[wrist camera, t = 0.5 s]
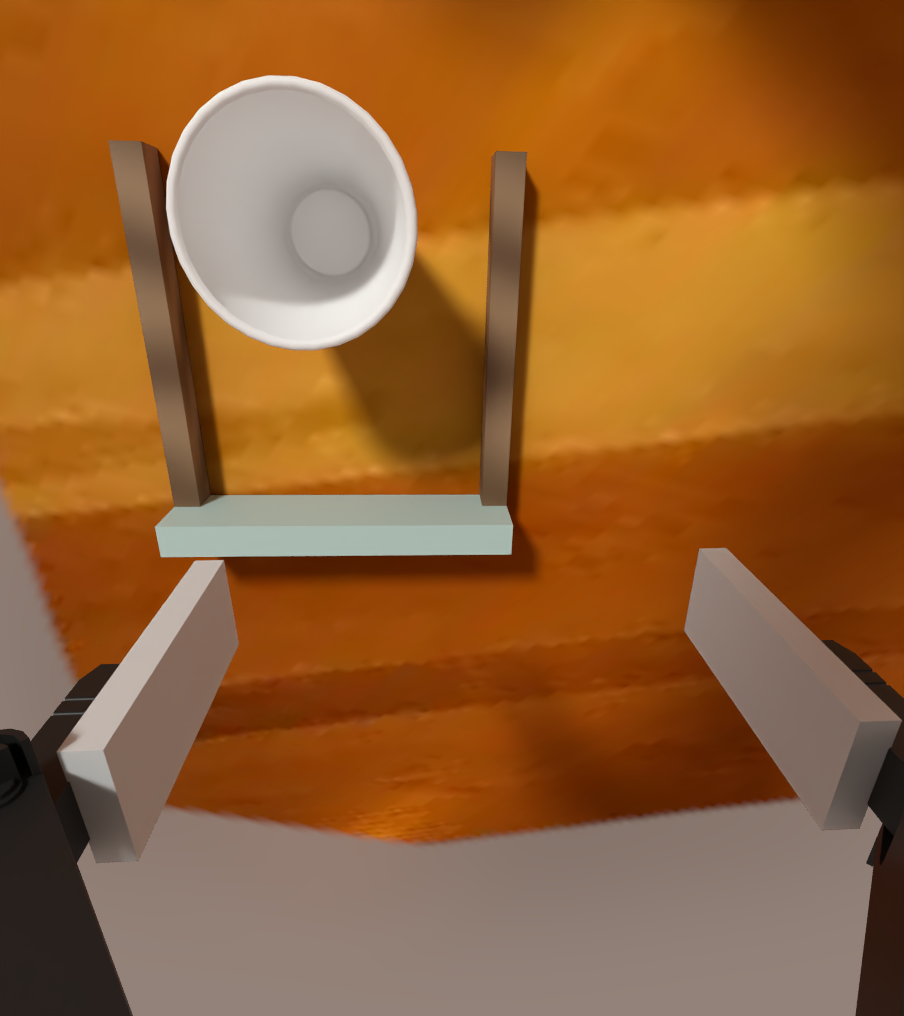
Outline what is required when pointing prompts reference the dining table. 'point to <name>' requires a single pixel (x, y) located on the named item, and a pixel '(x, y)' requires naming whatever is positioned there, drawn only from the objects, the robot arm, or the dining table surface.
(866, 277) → the dining table surface
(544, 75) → the dining table surface
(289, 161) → the cup
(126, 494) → the dining table surface
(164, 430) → the channel
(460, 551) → the block
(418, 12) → the dining table surface
